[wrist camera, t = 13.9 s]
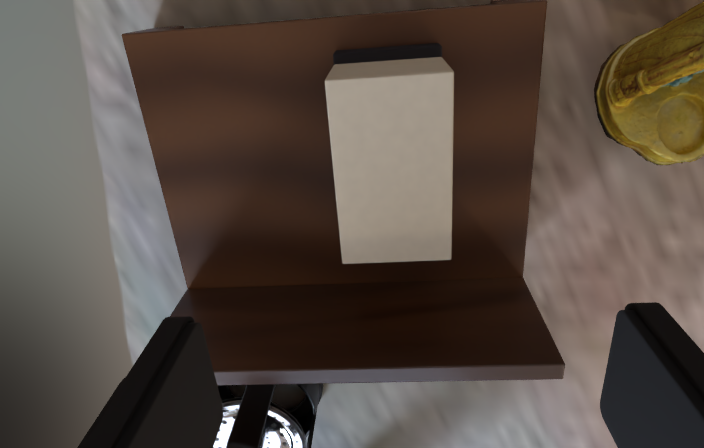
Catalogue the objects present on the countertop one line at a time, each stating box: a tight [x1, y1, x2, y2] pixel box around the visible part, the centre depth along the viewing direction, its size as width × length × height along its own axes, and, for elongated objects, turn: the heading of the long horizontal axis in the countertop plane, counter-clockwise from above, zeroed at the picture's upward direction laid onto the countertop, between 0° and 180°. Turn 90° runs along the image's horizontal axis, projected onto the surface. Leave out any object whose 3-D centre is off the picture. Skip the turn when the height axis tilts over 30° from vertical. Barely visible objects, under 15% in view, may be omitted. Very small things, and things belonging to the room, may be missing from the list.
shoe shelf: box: [122, 0, 565, 385], centre depth 27 cm, size 17×22×12 cm
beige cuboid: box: [325, 43, 454, 264], centre depth 25 cm, size 12×5×6 cm, turn 4°
